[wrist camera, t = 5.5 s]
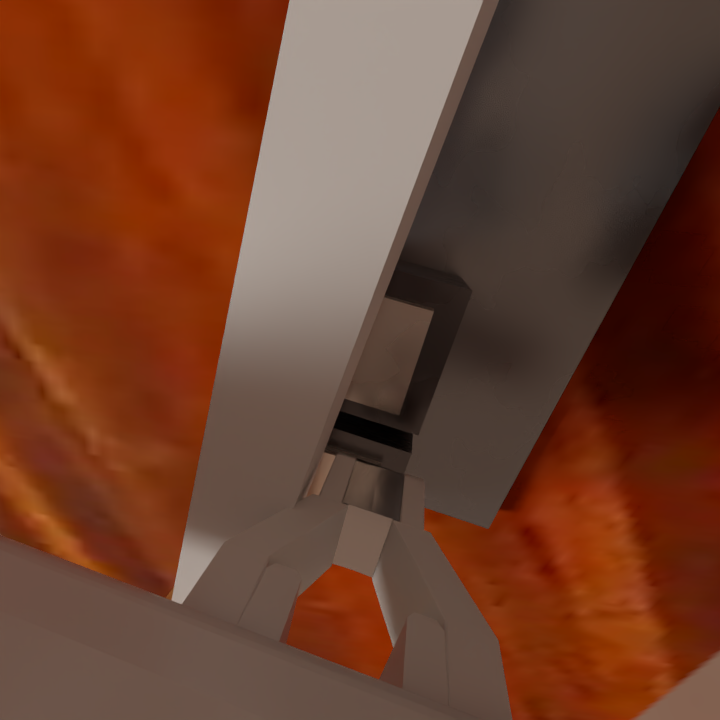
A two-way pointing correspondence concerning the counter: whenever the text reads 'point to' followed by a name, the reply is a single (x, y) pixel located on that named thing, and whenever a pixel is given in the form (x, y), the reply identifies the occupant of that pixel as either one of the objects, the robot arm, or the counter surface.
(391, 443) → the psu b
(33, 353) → the counter surface
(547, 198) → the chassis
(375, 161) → the lever
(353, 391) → the block
